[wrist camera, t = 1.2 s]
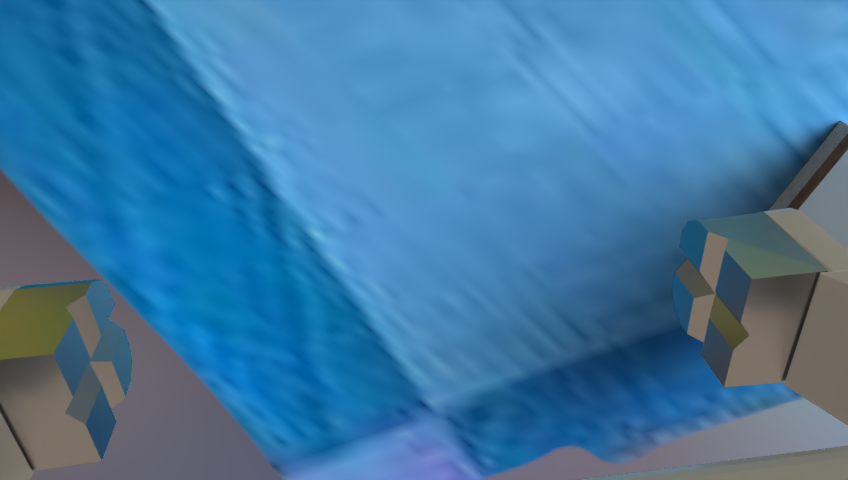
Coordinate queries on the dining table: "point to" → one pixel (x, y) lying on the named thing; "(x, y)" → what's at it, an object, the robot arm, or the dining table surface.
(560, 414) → the dining table surface
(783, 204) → the beige notched post
